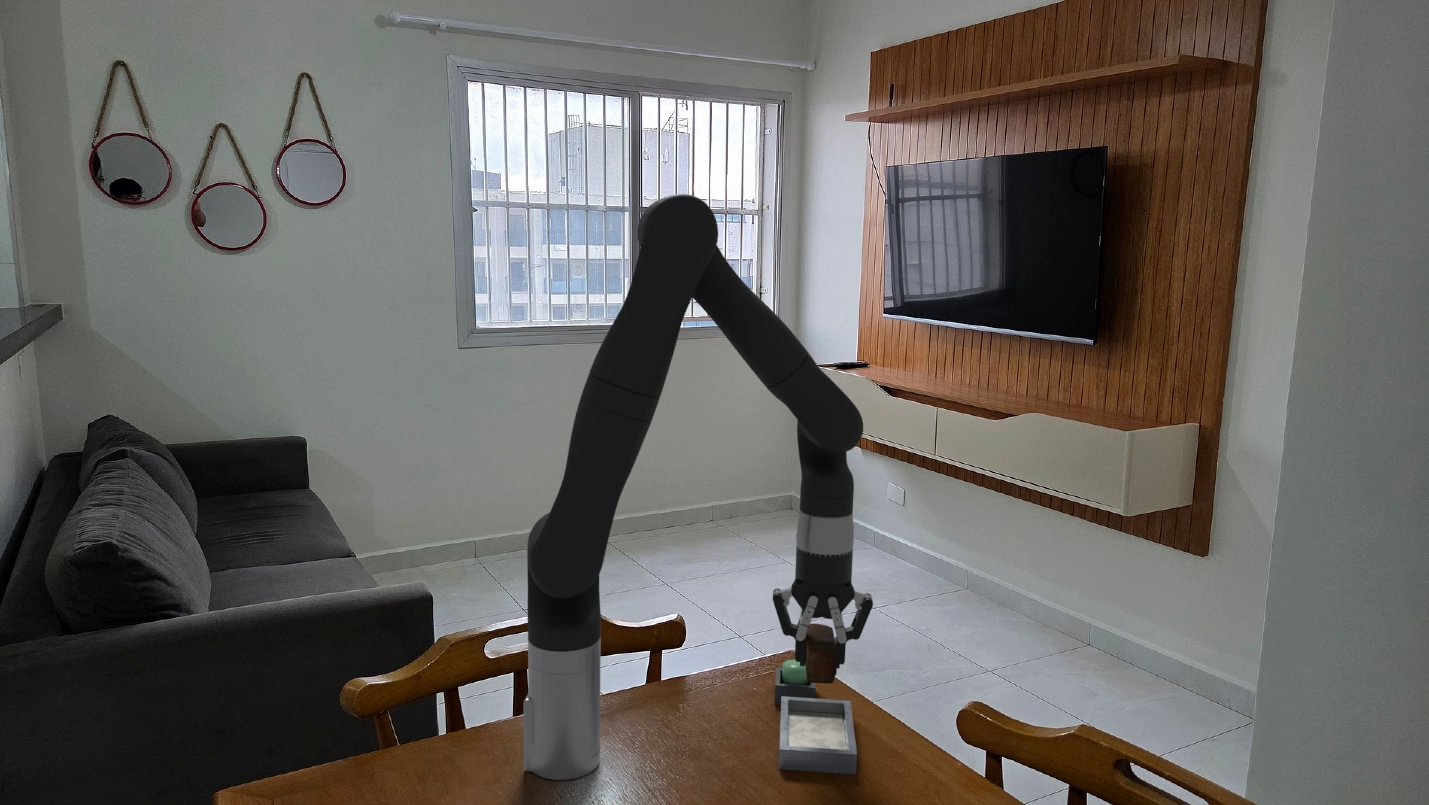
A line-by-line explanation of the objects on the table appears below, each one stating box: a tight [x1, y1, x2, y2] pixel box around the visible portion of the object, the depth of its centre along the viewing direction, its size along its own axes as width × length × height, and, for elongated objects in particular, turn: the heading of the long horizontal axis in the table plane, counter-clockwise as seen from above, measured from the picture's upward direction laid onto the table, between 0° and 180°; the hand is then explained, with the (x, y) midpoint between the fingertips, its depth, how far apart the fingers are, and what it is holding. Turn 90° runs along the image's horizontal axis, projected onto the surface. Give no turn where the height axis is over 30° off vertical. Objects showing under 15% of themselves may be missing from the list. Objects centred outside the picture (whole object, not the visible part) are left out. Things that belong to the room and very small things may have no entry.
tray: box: [778, 696, 858, 776], centre depth 130 cm, size 10×15×3 cm, turn 175°
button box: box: [774, 667, 817, 706], centre depth 144 cm, size 6×6×3 cm
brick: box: [805, 623, 838, 685], centre depth 128 cm, size 11×4×5 cm, turn 177°
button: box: [782, 659, 808, 685], centre depth 143 cm, size 4×4×2 cm
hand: (819, 664), depth 128 cm, fingers closed on brick, 4 cm apart
